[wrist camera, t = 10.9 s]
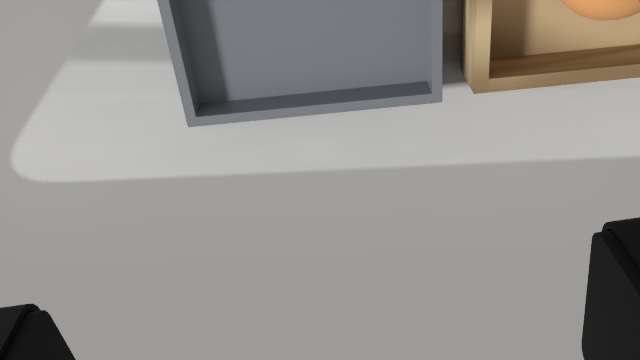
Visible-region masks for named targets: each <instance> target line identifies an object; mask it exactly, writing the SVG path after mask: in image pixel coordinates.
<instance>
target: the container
mask: <svg viewBox="0 0 640 360" xmlns="http://www.w3.org/2000/svg"><path fill="white" fill-rule="evenodd" d="M157 1H158V5H159V9H160V13H161V18H162V22H163V26H164V30H165V34H166V38H167V42H168V46H169V51H170V55H171V59H172V63H173V67H174V71H175V75H176V79H177V83H178V88H179V92H180V96H181V100H182V104H183V108H184V112H185V116H186V121H187V125H188V127H194V126H205V125H215V124H225V123H235V122H245V121H255V120H265V119H275V118H286V117H296V116H306V115H316V114H326V113H336V112H346V111H357V110H367V109H377V108H387V107H397V106H407V105H417V104H427V103H438V102H442V46H443V0H157Z"/></svg>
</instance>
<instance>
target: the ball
mask: <svg viewBox="0 0 640 360" xmlns="http://www.w3.org/2000/svg"><path fill="white" fill-rule="evenodd" d="M561 1H562V2H563V3H564V5H565V6H567V7H568V8H569V9H570V10H572V11H573V12H575V13H577V14H578V15H581V16H583V17H586V18H590V19H594V20H602V21H604V20H618V19H622V18H626V17H629V16H632V15H634V14H637V13H639V12H640V0H561Z"/></svg>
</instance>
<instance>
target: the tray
mask: <svg viewBox="0 0 640 360" xmlns="http://www.w3.org/2000/svg"><path fill="white" fill-rule="evenodd" d="M461 71H462V73H463V75H464V77H465V79H466V80H467V82H468V84H469V86H470V88H471V89H472V91H473V93H474V94H476V93H486V92H496V91H506V90H516V89H527V88H537V87H547V86H557V85H567V84H577V83H587V82H597V81H607V80H617V79H627V78H638V77H640V12H639V13H637V14H634V15H632V16H629V17H626V18H622V19H618V20H604V21H602V20H594V19H590V18H586V17H583V16H581V15H578V14H577V13H575V12H573V11H572V10H570V9H569V8H568V7H567V6H565V5H564V3H563V2H562V1H561V0H462V47H461Z"/></svg>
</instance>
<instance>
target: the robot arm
mask: <svg viewBox="0 0 640 360" xmlns="http://www.w3.org/2000/svg"><path fill="white" fill-rule="evenodd" d="M582 352H583V357H584V360H640V218H633V219H626V220H619V221H612V222H607V223H605V224H604V226H603V229H602V232H598V233H594V235H593V237H592V244H591V254H590V264H589V275H588V285H587V295H586V304H585V315H584V325H583V335H582ZM0 360H75V358H74V356H73V354H72V353H71V351H70V349H69V347H68V346H67V344H66V342H65V340H64V339H63V337H62V335H61V333H60V332H59V330H58V328H57V326H56V325H55V323H54V321H53V319H52V318H51V316H50V315H49V313H48V312H46V311H45V310H43V311H41V310H40V309H39V308H38V306H36V305H34V304H25V305H18V306H11V307H3V308H0Z"/></svg>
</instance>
